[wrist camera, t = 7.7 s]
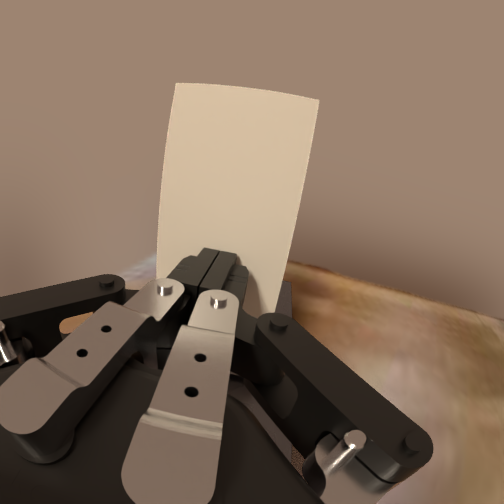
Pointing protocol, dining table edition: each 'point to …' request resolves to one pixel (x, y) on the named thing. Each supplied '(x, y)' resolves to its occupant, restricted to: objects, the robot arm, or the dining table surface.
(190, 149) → the slider tab
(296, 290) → the dining table surface
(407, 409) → the dining table surface
